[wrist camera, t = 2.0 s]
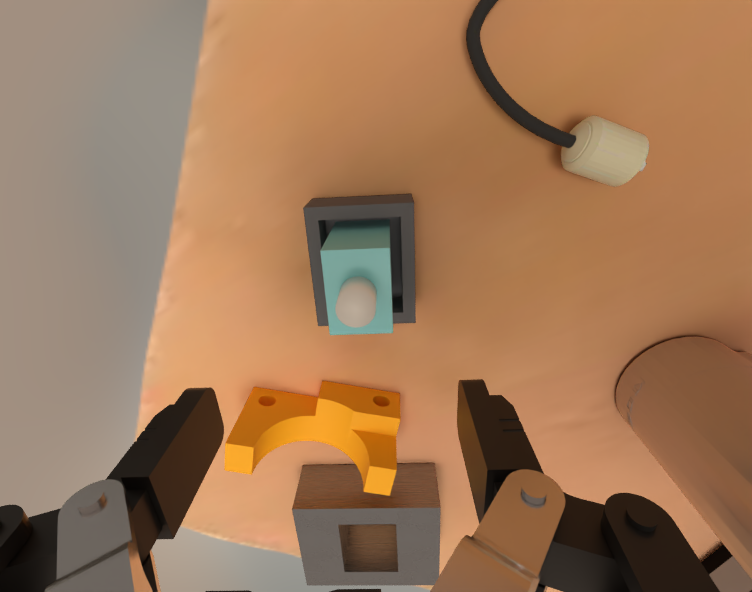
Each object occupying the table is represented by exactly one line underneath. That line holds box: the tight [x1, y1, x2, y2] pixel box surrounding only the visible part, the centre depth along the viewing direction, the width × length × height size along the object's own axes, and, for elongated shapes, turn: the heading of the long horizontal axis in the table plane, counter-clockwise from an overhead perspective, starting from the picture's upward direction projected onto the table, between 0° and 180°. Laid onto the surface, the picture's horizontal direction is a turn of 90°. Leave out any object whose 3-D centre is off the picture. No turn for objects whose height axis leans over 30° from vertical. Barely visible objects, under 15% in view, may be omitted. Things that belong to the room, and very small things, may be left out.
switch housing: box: [292, 463, 440, 585], centre depth 36 cm, size 12×10×4 cm
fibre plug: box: [320, 219, 393, 335], centre depth 23 cm, size 4×5×8 cm
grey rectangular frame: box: [303, 194, 416, 326], centre depth 26 cm, size 7×8×3 cm
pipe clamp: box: [225, 381, 401, 496], centre depth 30 cm, size 12×4×6 cm, turn 80°
